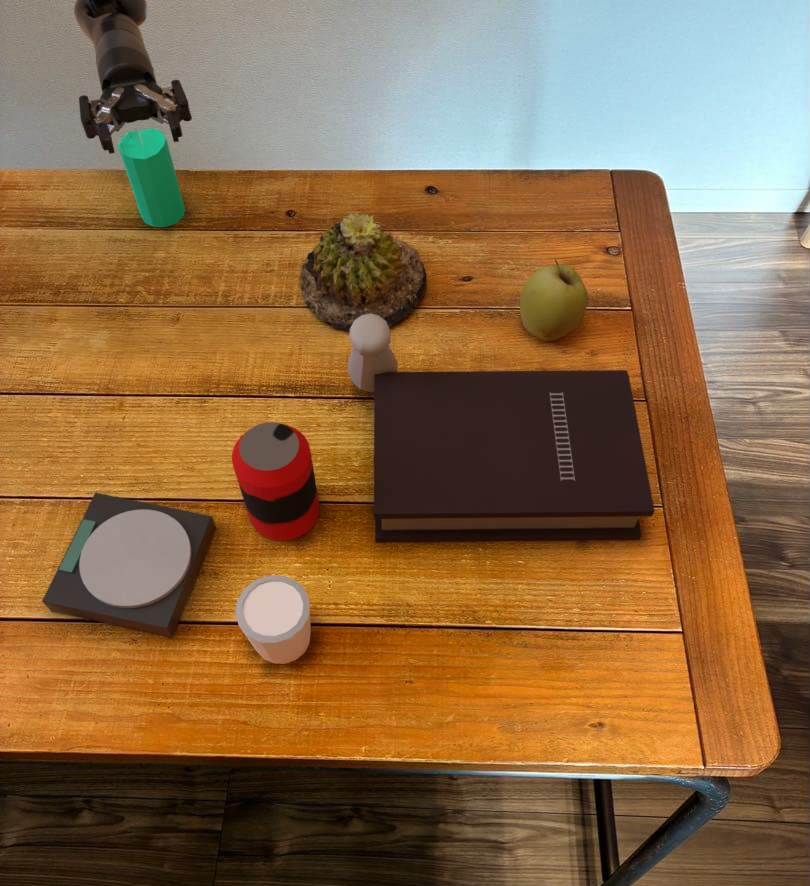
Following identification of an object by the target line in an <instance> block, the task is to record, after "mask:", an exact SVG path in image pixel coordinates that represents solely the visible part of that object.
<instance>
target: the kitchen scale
mask: <svg viewBox="0 0 810 886" xmlns="http://www.w3.org/2000/svg"><path fill="white" fill-rule="evenodd" d="M216 529H217V526H216V523H215V521H214V518H213V516H212V515H209V514H204V513H199V512H193V511H189V510H188V511H187V510H184V509H179V508H173V507H168V506H163V505H158V504H154V503H149V502H143V501H138V500H134V499H130V498H124V497H119V496H114V495H109V494H105V493H99V492H94V494H93V496H92V498H91V500H90V502H89V504H88V506H87V509H86V510H85V512H84V514H83V516H82V519H81V521H80V523H79V525H78V527H77V528H76V531H75V533H74V534H73V537H72V539H71V541H70V544H69V545H68V547H67V549H66V551H65V553H64V556H63V557H62V559H61V562H60V564H59V566H58V568H57V570H56V571H55V573H54V576H53V578H52V580H51V582H50V584H49V586H48V588H47V590H46V592H45V594H44V596H43V598H42V600H41V601H42V603H43V604H44V605H45V606H46V607H47V609H48V610H49V611H50V612H54V613H58V614H62V615H67V616H71V617H76V618H81V619H85V620H90V621H94V622H99V623H103V624H106V625H107V624H108V625H112V626H116V627H122V628H125V629H126V628H127V629H131V630H135V631H140V632H144V633H149V634H153V635H158V636H163V637H166V638H167V637H168V638H172V639H173V638H174V636H175V634H176V631H177V629H178V626H179V623H180V620H181V619H182V616H183V613H184V610H185V608H186V606H187V603H188V601H189V598H190V595H191V593H192V591H193V588H194V585H195V582H196V580H197V578H198V575H199V572H200V570H201V567H202V565H203V562H204V560H205V557H206V556H207V552H208V551H209V550H208V549H209V547H210V545H211V542H212V539H213V537H214V535H215V532H216Z"/></svg>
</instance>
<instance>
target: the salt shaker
mask: <svg viewBox="0 0 810 886" xmlns="http://www.w3.org/2000/svg"><path fill="white" fill-rule="evenodd" d="M391 334H392V333H391V329H390V326H389V327H388V324H387V322H386V321H385V320H384V319H383V318H381V317H380V316H378V315H374V314H365V315H361V316H360V317H358V318H357V319H356V320H354V322H353V324H352V326H351V328H350V330H349V336H348V337H349V342H350V344H351V346H352V350H351V352H350V354H349V358H348V360H347V368H346V369H347V371H346V372H347V374H348V377H349V378H350V380H351V383H352V384H353V385H355V386H356V387H357V388H358V389H359V390H361V391H364V392H369V393H374V377H375V374H381V373H384V372H398V365H399V364H398V363H399V362H398V360H397V358H396V356H395V353H394V351H393V349H392V348H391V346H390V343H391V338H392V337H391Z"/></svg>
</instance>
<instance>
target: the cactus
mask: <svg viewBox="0 0 810 886" xmlns="http://www.w3.org/2000/svg"><path fill="white" fill-rule="evenodd" d="M387 231H388V230H385V227H384V226H383V227H381V224H379V223H377V222H375V220H374V215H368V214H365V212H363V211H361V213H360V215H359V214H358V213H357V212H355V214H353V212H351V213H349V214H348V215H347V218H345V217H342V220H341V221H339V222H334V223H333V226H329V227H327V229H326V231H324V232H323V233H322V234H320V236H319V237H318V239H319V242H318V244H316V246H315V247H312V248H313V249H312V251H311V252H308V254H307V256H306V259H305V260H304V262H303V263H302V267H301V271H300V278H299V279H300V288H301V293H302V298H303V299H304V302H305V304H307V305H308V308H309V309H310V311H311V312H312V313H313V314H314V315H315V316H316V317H317V318H318V319H319V320H321V321H323V322H326V324H328V326H330V327H332V328H335V329H337V330H346V331H350V328H351V326H352V324H353V322H354V320H356V319H357V318H358V317H360V316H361V315H365V314H374V315H378V316H380V317H381V318H383V319H384V320H385V321H386V322H387V324H388V327H389V328H390V327H392V326H394V325H395V324H396V323H397V322H399V321H401V320H404V319H405V317H407V316H408V315H409V314H411V313H412V311H413V309H414V308H416V306H417V304H419V302H420V301H421V300H422V297H423V296H424V293H425V291H426V287H427V283H428V282H427V281H428V279H427V277H428V276H427V272H426V268H425V265H424V262H422V259H421V256H420V255H419V252H418V251H417V249H415V248H414V247H412V246H411V245H410V244H409V243H407V242H406V241H403V240H400V239H398V237H396V238H394V236H393V235H392V233H393V232H390V231H388V233H387ZM385 232H386V233H385ZM315 241H316V240H315Z"/></svg>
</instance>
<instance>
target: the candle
mask: <svg viewBox="0 0 810 886" xmlns="http://www.w3.org/2000/svg"><path fill="white" fill-rule="evenodd" d="M117 147H118V151H119V154H120V157H121V161H122V163H123V166H124V169H125V172H126V176H127V179H128V182H129V184H130V187H131V191H132V193H133V196H134V200H135V202H136V206H137V208H138V211H139V215H140V217H141V219H142V221H143V222H144V223H145V224H146V225H148V226H151V227H153V228H167V227H170V226H173V225H176V224H177V223H179V222H180V221H181V220H182V219H183V218H184V216H185V212H186V206H185V202H184V198H183V195H182V192H181V191H182V190H181V187H180V184H179V180H178V177H177V174H176V169H175V166H174V162H173V158H172V155H171V151H170V148H169V144H168V139H167V138H166V136H165V135H164V132H162V131H161V130H160V129H156V128H153V127H151V128H145V129H141V130H131V131H127V133H125V134H124V136H123V137H121V139H120V141H119V142H118V144H117Z"/></svg>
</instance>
